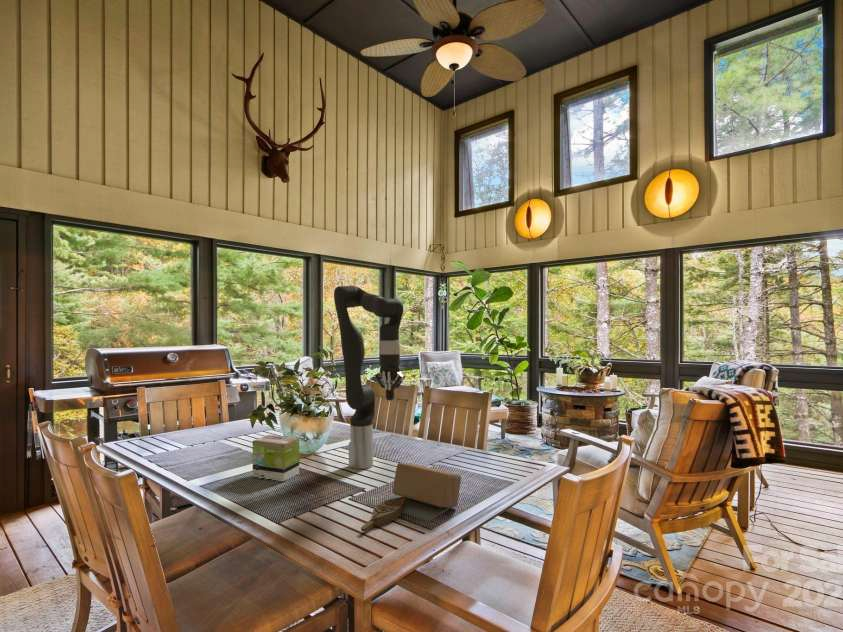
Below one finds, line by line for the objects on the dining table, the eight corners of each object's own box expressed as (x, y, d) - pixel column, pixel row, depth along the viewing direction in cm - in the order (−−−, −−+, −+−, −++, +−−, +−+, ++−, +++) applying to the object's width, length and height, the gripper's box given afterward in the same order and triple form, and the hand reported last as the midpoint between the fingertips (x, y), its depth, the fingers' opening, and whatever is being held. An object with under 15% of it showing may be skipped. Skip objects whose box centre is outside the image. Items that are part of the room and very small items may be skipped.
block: (390, 493, 148) (441, 508, 136) (396, 462, 150) (446, 473, 138) (408, 494, 155) (458, 507, 143) (413, 464, 158) (462, 475, 146)
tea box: (251, 478, 174) (251, 440, 174) (268, 470, 183) (268, 434, 183) (284, 483, 168) (283, 443, 169) (300, 474, 178) (300, 436, 178)
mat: (378, 506, 146) (378, 504, 146) (405, 492, 157) (405, 490, 157) (429, 521, 134) (429, 519, 134) (454, 505, 146) (454, 503, 146)
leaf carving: (352, 532, 128) (352, 522, 128) (391, 501, 148) (391, 493, 148) (374, 537, 125) (374, 527, 125) (411, 505, 144) (411, 496, 144)
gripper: (410, 352, 165) (410, 400, 165) (382, 351, 173) (383, 397, 172) (397, 354, 159) (397, 403, 158) (369, 352, 166) (369, 399, 166)
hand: (389, 400), depth 165 cm, fingers closed
